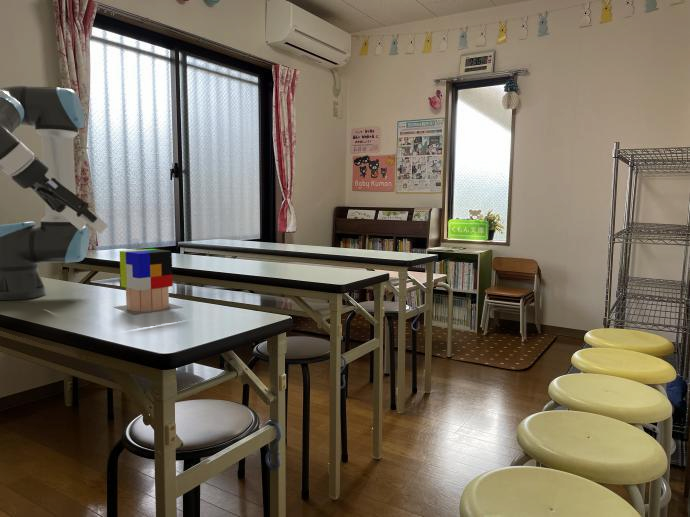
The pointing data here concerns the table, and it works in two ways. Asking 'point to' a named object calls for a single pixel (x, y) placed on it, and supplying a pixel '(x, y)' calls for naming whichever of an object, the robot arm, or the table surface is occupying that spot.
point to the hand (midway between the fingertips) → (93, 228)
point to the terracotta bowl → (147, 299)
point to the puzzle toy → (146, 269)
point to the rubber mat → (124, 308)
